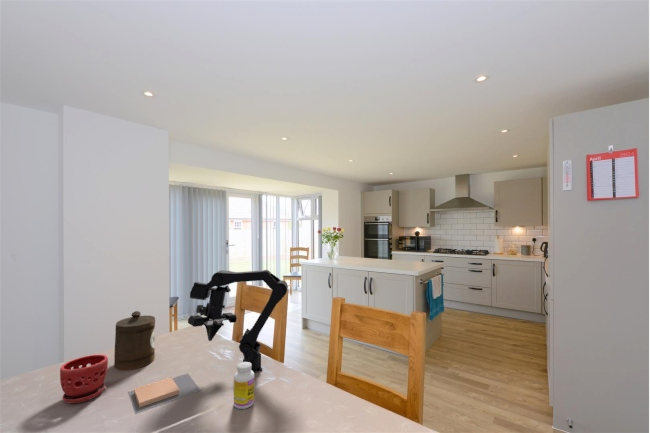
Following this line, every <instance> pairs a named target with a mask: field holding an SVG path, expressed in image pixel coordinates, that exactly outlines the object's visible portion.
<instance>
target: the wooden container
mask: <svg viewBox="0 0 650 433" xmlns="http://www.w3.org/2000/svg"><path fill="white" fill-rule="evenodd" d="M155 328H156V317H155V316H153V315H141V311H138V310H137V311H134V312H132V313H131V316H130V317H126V318H123V319H120V320H118V321H116V323H115V337H114V362H113V364H114V365H113V366H114V369H116V370H118V371H132V370H136V369H141V368H143V367H146V366H147V365H148V366H149V365H150V364H151V363H152V362H154V360H155V356H156V353H155V351H156V350H155V349H156V348H155V347H156V329H155Z"/></svg>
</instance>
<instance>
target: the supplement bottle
mask: <svg viewBox="0 0 650 433" xmlns="http://www.w3.org/2000/svg"><path fill="white" fill-rule="evenodd" d="M251 368H252V364H251V363H250V362H243V361H242V362H240V363H238V364H237V366H236V369H237V370H236V372H235V373H234V374H233V375H234V376H233V405H234V407H235V408H236V409H240V410H245V409H247V408H250V407H251V406H253V404H254V403H255V373H254V372H253V371H252V370H251Z"/></svg>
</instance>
